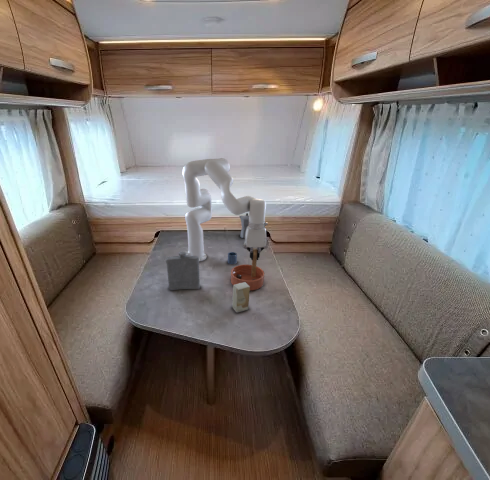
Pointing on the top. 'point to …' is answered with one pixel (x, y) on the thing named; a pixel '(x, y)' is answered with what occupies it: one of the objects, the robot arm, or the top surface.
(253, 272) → the stick
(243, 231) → the coffeepot
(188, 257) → the hip flask
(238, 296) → the cosmetic box
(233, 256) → the cup
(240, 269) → the bowl
